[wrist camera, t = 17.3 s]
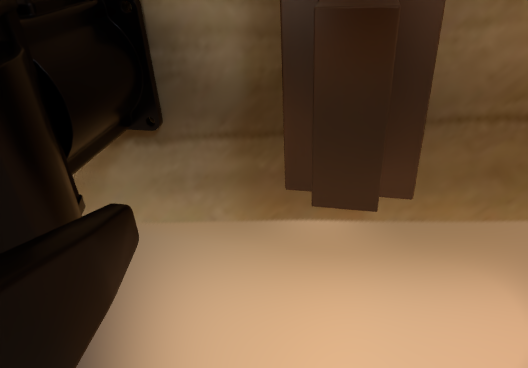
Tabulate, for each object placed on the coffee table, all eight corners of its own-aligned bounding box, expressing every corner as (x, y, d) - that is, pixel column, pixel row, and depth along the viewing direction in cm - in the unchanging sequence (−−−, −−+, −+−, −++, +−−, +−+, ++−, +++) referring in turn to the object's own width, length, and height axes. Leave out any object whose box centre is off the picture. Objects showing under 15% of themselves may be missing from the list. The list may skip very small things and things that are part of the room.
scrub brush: (409, 169, 20) (418, 245, 15) (294, 161, 21) (271, 229, 17) (443, -61, 15) (473, -52, 10) (291, -53, 16) (257, -43, 12)
